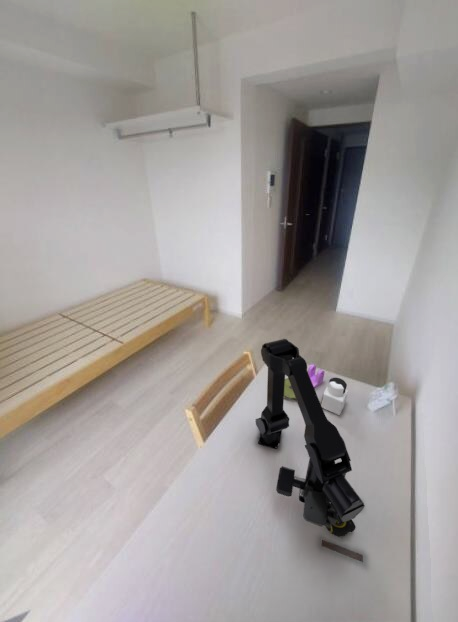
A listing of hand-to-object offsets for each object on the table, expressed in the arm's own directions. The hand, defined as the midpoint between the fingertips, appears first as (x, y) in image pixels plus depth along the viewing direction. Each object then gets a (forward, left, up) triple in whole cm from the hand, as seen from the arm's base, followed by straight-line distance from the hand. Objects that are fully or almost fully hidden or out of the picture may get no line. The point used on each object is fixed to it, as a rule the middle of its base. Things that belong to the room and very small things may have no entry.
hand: (310, 508), depth 71 cm
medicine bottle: (+5, +40, -2) cm, 40 cm away
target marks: (+7, 0, -1) cm, 7 cm away
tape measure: (+7, 0, -2) cm, 7 cm away
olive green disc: (-11, +42, 0) cm, 44 cm away
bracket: (-5, +48, -2) cm, 48 cm away
